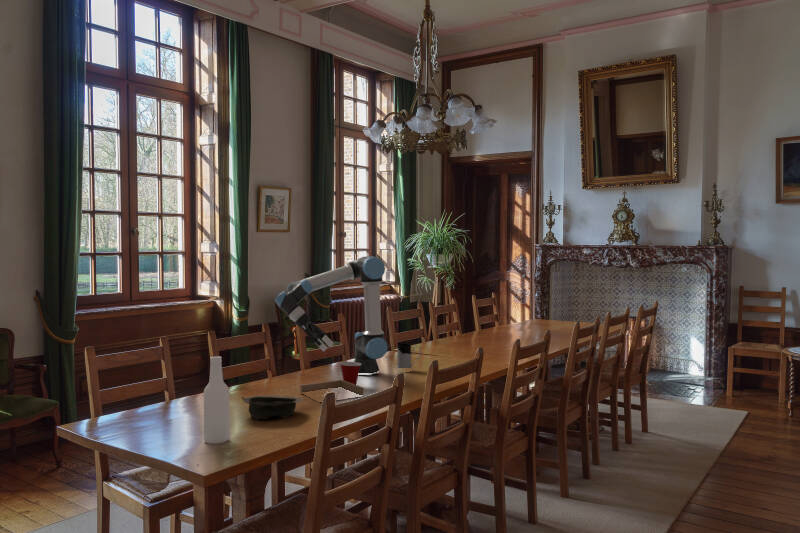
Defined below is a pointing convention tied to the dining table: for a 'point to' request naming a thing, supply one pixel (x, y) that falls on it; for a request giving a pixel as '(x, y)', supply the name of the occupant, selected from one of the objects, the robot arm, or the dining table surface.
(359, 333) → the robot arm
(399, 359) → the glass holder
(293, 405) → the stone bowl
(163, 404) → the dining table surface
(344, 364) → the plastic cup
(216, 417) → the alcohol
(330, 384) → the tray
